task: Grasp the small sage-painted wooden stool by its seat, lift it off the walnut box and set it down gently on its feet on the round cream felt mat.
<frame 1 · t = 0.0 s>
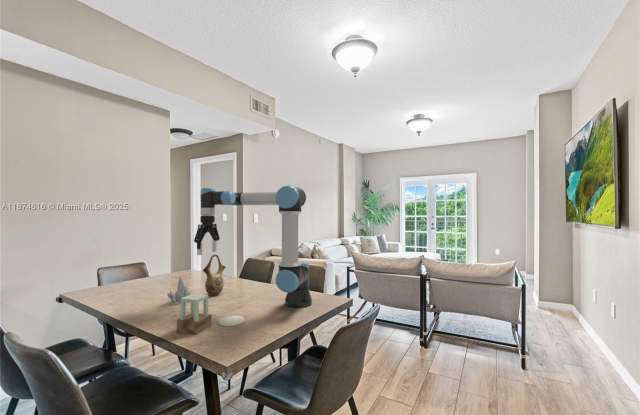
hand: (207, 253, 171), 28 cm above the table, fingers open, 13 cm apart
stool: (194, 317, 134), point 5 cm above the table, touching walnut box
crystal: (178, 303, 172), on the table
ceramic vessel: (214, 295, 189), on the table
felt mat: (231, 321, 143), on the table
walnut box: (194, 328, 134), on the table
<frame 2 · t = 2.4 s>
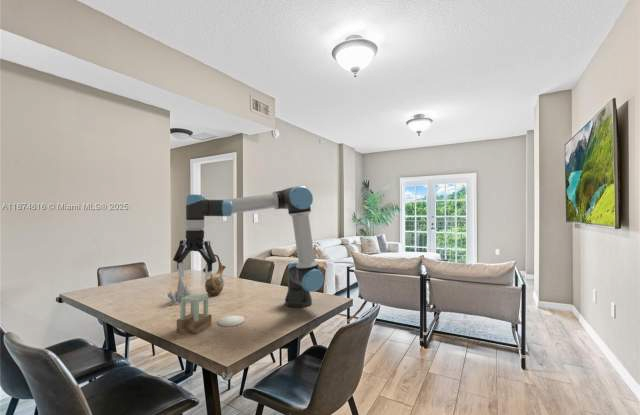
hand: (194, 278, 134), 22 cm above the table, fingers open, 13 cm apart
nothing on the table moved.
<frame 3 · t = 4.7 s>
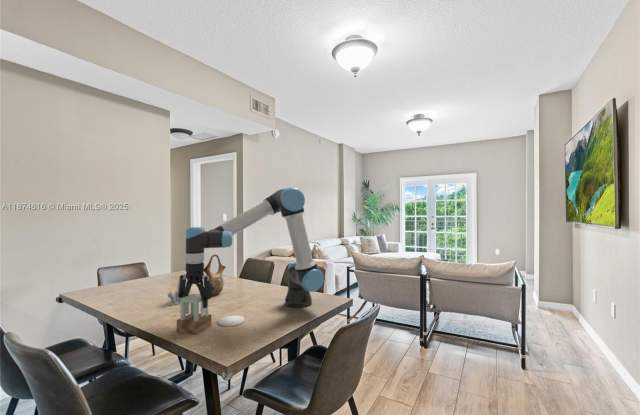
hand: (194, 314, 134), 6 cm above the table, fingers closed on stool, 8 cm apart
stool: (194, 317, 134), point 5 cm above the table, touching gripper, walnut box
everything else where it was.
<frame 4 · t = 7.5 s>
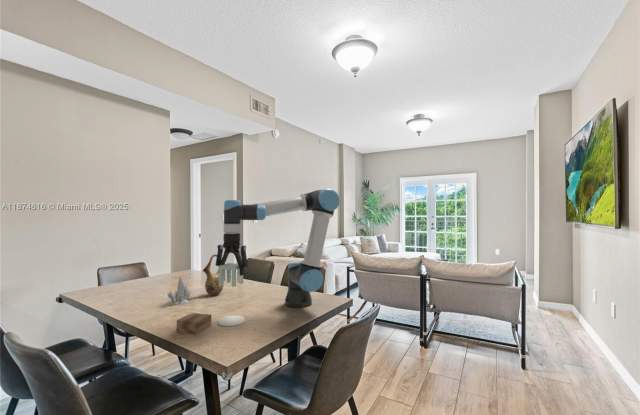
hand: (231, 281, 143), 19 cm above the table, fingers closed on stool, 8 cm apart
stool: (231, 284, 143), point 17 cm above the table, touching gripper
everything else where it was.
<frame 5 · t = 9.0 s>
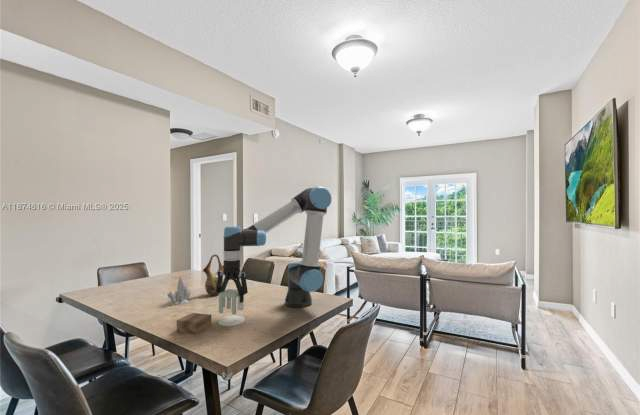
hand: (231, 308, 143), 6 cm above the table, fingers closed on stool, 8 cm apart
stool: (231, 311, 143), point 5 cm above the table, touching gripper
everything else where it was.
when the fingers open (3 cm above the table, at t = 10.4 s): stool drops 1 cm, resting on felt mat.
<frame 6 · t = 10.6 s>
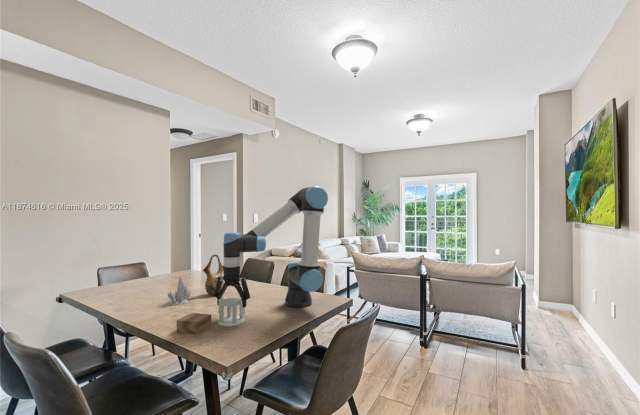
hand: (231, 313, 143), 4 cm above the table, fingers open, 10 cm apart
stool: (231, 319, 143), point 1 cm above the table, touching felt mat
everything else where it was.
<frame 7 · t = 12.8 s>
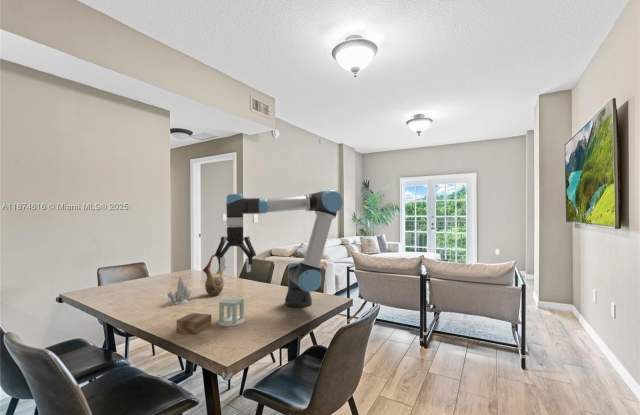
hand: (235, 271, 145), 23 cm above the table, fingers open, 13 cm apart
nothing on the table moved.
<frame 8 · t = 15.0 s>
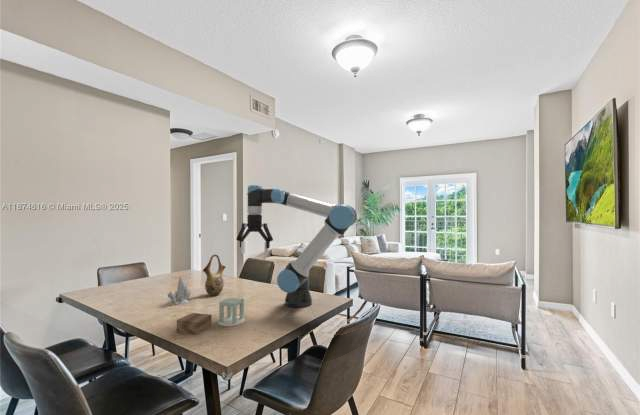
hand: (254, 254, 163), 29 cm above the table, fingers open, 13 cm apart
nothing on the table moved.
at the end: stool inside the target area on the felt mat (0.0 cm from its centre), point 0.8 cm above the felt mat's base; stool tilted 0°; the gripper is holding nothing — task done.
